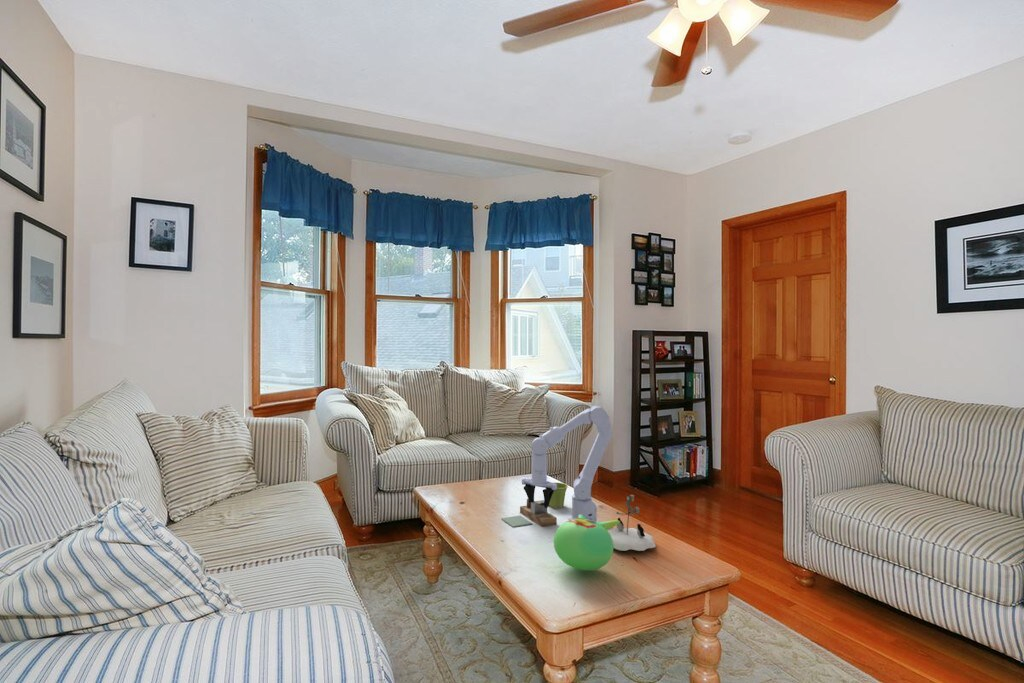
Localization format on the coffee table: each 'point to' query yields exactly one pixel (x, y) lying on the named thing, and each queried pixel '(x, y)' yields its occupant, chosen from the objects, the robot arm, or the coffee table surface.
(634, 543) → the figurine
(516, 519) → the mat
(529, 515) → the plane body
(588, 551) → the round green toy
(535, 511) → the grey rectangular block
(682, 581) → the coffee table surface
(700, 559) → the coffee table surface
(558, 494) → the plant pot
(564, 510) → the coffee table surface
